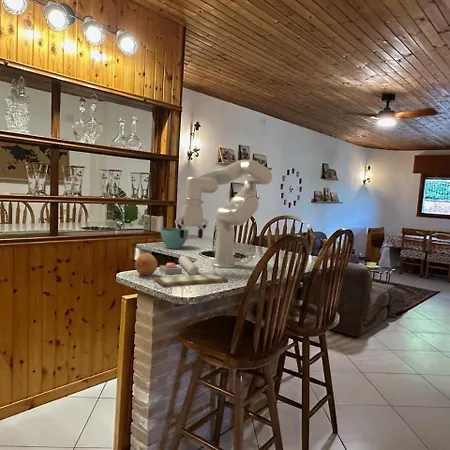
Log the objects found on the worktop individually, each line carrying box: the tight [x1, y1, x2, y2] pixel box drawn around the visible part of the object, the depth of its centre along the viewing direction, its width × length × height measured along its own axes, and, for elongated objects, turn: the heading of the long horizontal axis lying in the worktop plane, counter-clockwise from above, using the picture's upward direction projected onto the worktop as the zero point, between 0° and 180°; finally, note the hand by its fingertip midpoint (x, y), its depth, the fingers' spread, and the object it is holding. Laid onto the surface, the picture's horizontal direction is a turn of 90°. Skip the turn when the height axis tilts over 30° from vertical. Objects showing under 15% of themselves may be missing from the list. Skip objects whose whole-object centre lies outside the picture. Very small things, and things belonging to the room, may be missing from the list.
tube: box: [178, 255, 199, 275], centre depth 185 cm, size 5×5×25 cm
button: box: [166, 262, 176, 268], centre depth 178 cm, size 4×4×3 cm
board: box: [153, 273, 229, 288], centre depth 163 cm, size 30×11×1 cm, turn 121°
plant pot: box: [160, 227, 189, 250], centre depth 248 cm, size 18×18×12 cm
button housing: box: [159, 264, 183, 275], centre depth 178 cm, size 8×8×2 cm
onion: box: [134, 252, 158, 276], centre depth 168 cm, size 10×10×10 cm
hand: (190, 238), depth 183 cm, fingers open, 9 cm apart
